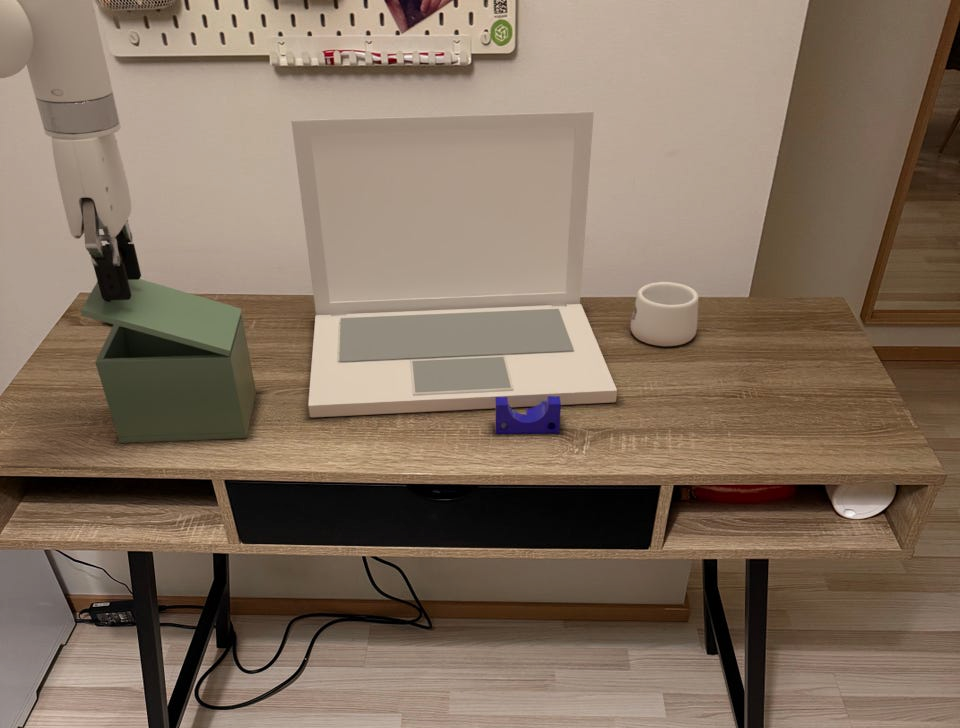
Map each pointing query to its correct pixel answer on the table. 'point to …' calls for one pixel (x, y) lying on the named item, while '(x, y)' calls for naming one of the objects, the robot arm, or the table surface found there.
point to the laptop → (448, 262)
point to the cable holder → (528, 417)
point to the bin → (175, 388)
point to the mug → (665, 314)
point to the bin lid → (168, 314)
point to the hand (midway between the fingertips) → (122, 287)
